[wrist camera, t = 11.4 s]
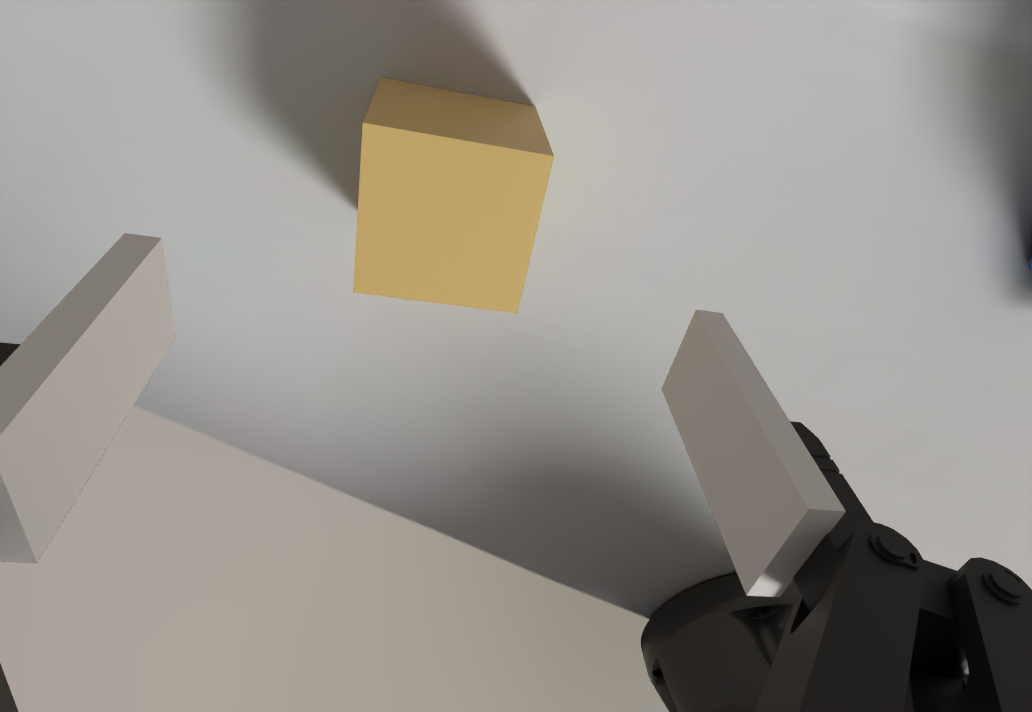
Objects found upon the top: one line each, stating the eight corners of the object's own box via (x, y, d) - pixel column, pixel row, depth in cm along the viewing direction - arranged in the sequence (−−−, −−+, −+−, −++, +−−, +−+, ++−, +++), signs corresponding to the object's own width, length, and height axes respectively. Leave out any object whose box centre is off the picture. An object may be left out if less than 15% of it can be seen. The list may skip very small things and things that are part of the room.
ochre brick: (506, 242, 28) (517, 313, 24) (371, 222, 27) (353, 292, 22) (534, 105, 25) (553, 156, 20) (381, 76, 24) (362, 122, 19)
